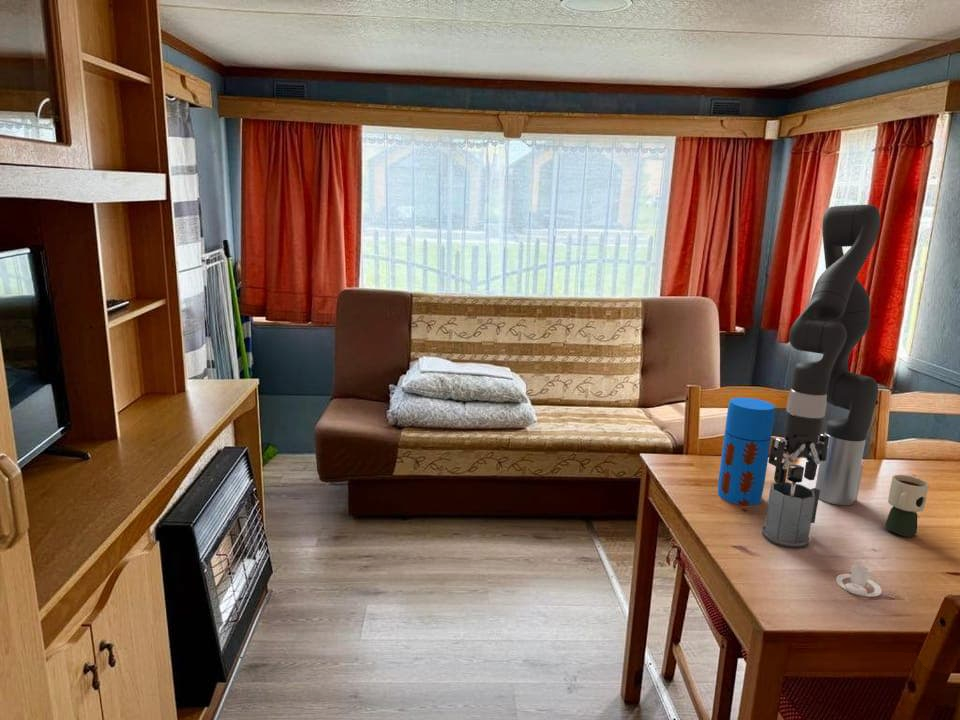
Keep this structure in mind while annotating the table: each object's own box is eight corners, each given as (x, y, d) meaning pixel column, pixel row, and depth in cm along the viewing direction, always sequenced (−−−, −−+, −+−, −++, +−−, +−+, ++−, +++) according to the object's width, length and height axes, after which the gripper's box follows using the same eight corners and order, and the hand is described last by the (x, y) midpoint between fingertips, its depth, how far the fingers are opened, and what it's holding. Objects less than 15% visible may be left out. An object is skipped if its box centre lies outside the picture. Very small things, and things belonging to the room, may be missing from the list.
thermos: (765, 508, 163) (780, 412, 158) (720, 502, 165) (733, 407, 160) (756, 490, 174) (770, 399, 168) (714, 485, 176) (726, 395, 170)
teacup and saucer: (859, 603, 125) (863, 583, 124) (823, 581, 132) (826, 562, 132) (890, 594, 129) (894, 575, 128) (854, 573, 136) (857, 555, 135)
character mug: (912, 546, 147) (923, 492, 144) (876, 534, 152) (886, 482, 149) (922, 530, 155) (933, 479, 152) (888, 520, 160) (898, 469, 157)
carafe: (793, 524, 156) (801, 477, 153) (827, 543, 147) (836, 494, 144) (752, 531, 151) (759, 484, 148) (785, 551, 142) (793, 501, 140)
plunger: (786, 518, 152) (795, 459, 149) (810, 532, 146) (820, 471, 143) (763, 522, 150) (772, 462, 146) (787, 536, 144) (797, 474, 140)
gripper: (815, 403, 148) (804, 471, 151) (766, 408, 142) (756, 478, 146) (844, 413, 141) (832, 484, 145) (794, 419, 136) (782, 492, 139)
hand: (794, 481), depth 145 cm, fingers open, 8 cm apart
